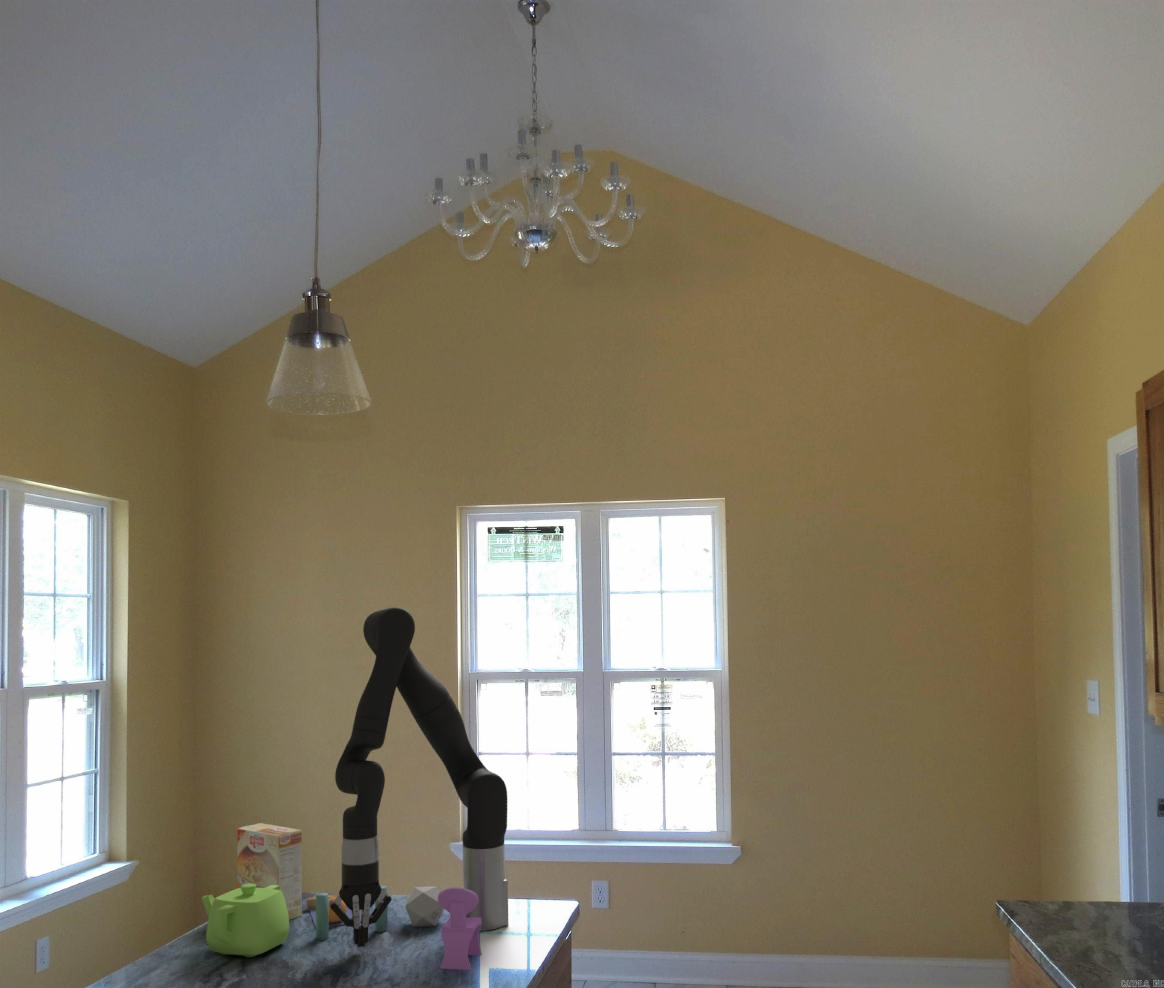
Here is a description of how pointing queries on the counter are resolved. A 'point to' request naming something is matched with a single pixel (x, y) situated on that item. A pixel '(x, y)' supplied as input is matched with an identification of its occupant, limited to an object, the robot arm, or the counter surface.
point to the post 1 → (322, 916)
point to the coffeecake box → (272, 861)
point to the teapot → (246, 920)
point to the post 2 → (382, 921)
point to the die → (424, 906)
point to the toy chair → (459, 928)
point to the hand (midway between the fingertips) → (360, 945)
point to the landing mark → (348, 913)
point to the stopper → (312, 902)
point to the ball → (332, 916)
